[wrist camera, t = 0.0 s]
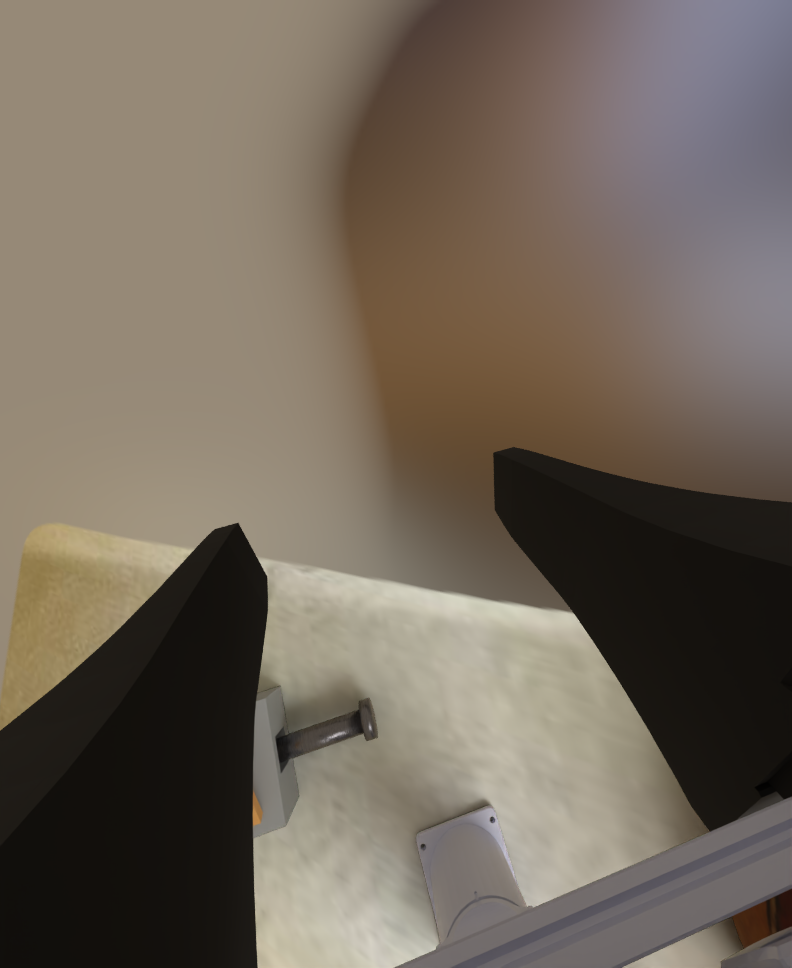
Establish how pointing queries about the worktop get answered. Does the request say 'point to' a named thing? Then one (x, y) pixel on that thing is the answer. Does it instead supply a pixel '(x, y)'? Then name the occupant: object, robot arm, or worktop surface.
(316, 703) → the worktop surface
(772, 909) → the brown clay vase
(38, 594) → the worktop surface
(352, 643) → the worktop surface
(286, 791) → the block
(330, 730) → the pin
